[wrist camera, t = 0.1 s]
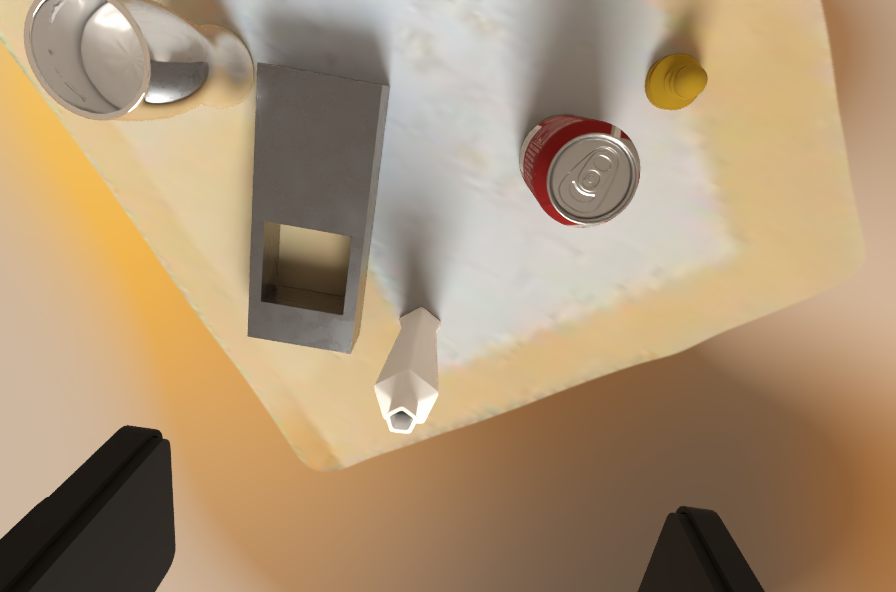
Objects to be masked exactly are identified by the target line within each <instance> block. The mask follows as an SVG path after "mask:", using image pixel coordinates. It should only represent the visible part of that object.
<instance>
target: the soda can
mask: <svg viewBox="0 0 896 592" xmlns="http://www.w3.org/2000/svg"><path fill="white" fill-rule="evenodd" d="M519 164H520V171H521V174H522V177H523V179H524V181H525V183H526V184H527V186H528V187H529V189H530V190H531V192H532V193H533V195H534V196H535V198H536V199H537V201H538V202H539V204H540V205H541V207H542V208H543V210H544V211H545V212H546V213H547V214H548V215H549V216H550V217H552V218H553V219H554V220H556V221H558V222H560V223H562V224H564V225H567V226H571V227H577V228H586V227H593V226H597V225H600V224H603V223H605V222H607V221H609V220H611V219H613V218H614V217H616V216H617V215H618V214H620V213H621V212H622V211H623V210H624V209H625V208H626V207H627V206H628V204H629V203H630V202H631V200H632V198H633V196H634V194H635V192H636V189H637V186H638V183H639V178H640V161H639V156H638V153H637V150H636V148H635V146H634V144H633V142H632V141H631V139H630V138H629V137H628V136H627V135H626V134H625V133H624V132H623V131H622V130H620V129H619V128H617V127H616V126H614V125H612V124H609V123H607V122H603V121H598V120H593V119H588V118H583V117H578V116H573V115H556V116H552V117H549V118H547V119H545V120H543V121H541V122H540V123H538V124H537V125H536V126H535V127H534V128H533V129H532V130H531V131H530V132H529V134H528V135H527V136H526V138H525V140H524V142H523V144H522V147H521V151H520V158H519Z"/></svg>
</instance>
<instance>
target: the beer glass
mask: <svg viewBox="0 0 896 592" xmlns="http://www.w3.org/2000/svg"><path fill="white" fill-rule="evenodd" d="M24 44H25V50H26V54H27V58H28V61H29V63H30V66H31V68H32V70H33V72H34V74H35V76H36V78H37V79H38V81H39V83H40V84H41V85H42V87H43V88H44V89H45V90H46V92H47V93H48V94H49V95H50V96H51V97H52V98H53V99H54V100H55V101H56V102H58V103H59V104H60V105H61V106H63V107H64V108H66V109H67V110H69V111H71V112H73V113H75V114H77V115H79V116H82V117H85V118H88V119H93V120H118V121H153V120H160V119H166V118H171V117H174V116H177V115H180V114H182V113H185V112H187V111H189V110H191V109H194V108H196V107H198V106H200V105H204V106H208V107H212V108H219V109H223V108H230V107H233V106H235V105H237V104H238V103H240V102H241V101H242V100H243V99H244V98H245V97H246V96H247V95H248V93H249V91H250V89H251V86H252V83H253V76H254V71H253V63H252V59H251V57H250V54H249V52H248V50H247V48H246V46H245V45H244V44H243V42H242V41H241V40H240V39H239V38H238V37H237V36H236V35H235V34H234V33H232V32H231V31H229V30H228V29H226V28H224V27H221V26H218V25H212V24H202V25H195V24H193V23H192V22H190V21H189V20H187V19H186V18H184V17H183V16H181V15H180V14H178V13H177V12H175V11H173V10H171V9H170V8H168V7H166V6H164V5H162V4H160V3H158V2H156V1H153V0H34V2H33V3H32V5H31V7H30V9H29V11H28V13H27V16H26V20H25V25H24Z"/></svg>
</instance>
